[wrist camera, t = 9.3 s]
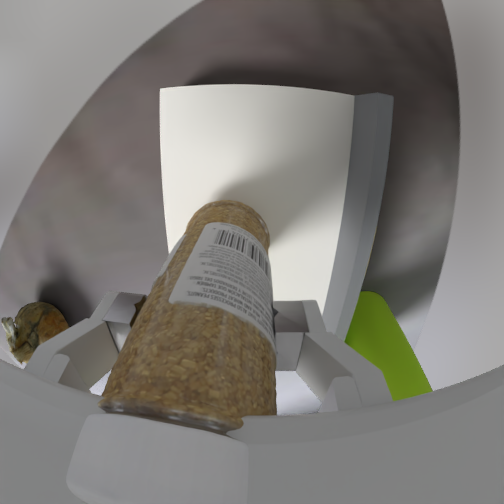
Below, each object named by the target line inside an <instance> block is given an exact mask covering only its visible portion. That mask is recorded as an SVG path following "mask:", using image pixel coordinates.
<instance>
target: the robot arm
mask: <svg viewBox="0 0 504 504" xmlns="http://www.w3.org/2000/svg"><path fill="white" fill-rule="evenodd" d="M147 297H148V296H146V295H143V294H133V293H124V292H114V291H109V292H107V293H106V294H105V296H104V297H103V299H102V300H101V302H100V303H99V305H98V306H97V308H96V309H95V311H94V312H93V314H92V315H91V317H90V319H88V318H86V319H84V320H82V321H80V322H79V323H77V324H75V325H73V326H72V327H70V328H68V329H66V330H65V331H63V332H61V333H60V334H58V335H56V336H54V337H53V338H51V339H49V340H48V341H46V342H44V343H42V344H41V345H39V346H38V347H37V349H36V350H35V352H34V353H33V355H32V356H31V358H30V360H29V361H28V363H27V365H26V366H25V368H24V370H23V369H21V368H18V367H16V366H14V365H12V364H9V363H7V362H5V361H3V360H1V359H0V504H88V503H86V502H84V501H82V500H81V499H79V498H78V497H77V496H75V495H74V494H73V493H72V492H71V491H70V489H69V488H68V486H67V483H66V476H67V472H68V468H69V465H70V462H71V458H72V455H73V452H74V449H75V446H76V443H77V440H78V438H79V435H80V432H81V430H82V427H83V425H84V422H85V420H86V418H87V417H88V416H89V415H91V414H101V413H106V411H104V410H102V409H101V408H99V407H98V402H100V401H101V400H102V399H105V398H104V397H103V396H99V395H96V394H92V393H91V391H90V390H89V389H90V388H91V387H92V386H93V385H94V384H95V383H96V382H97V381H99V380H100V379H101V378H102V377H103V376H104V375H105V374H106V373H108V372H109V371H110V370H111V369H112V368H113V366H114V364H115V362H116V361H117V358H118V355H119V353H120V351H121V350H122V347H123V345H124V342H125V340H126V338H127V336H128V334H129V332H130V331H131V328H132V326H133V324H134V322H135V320H136V318H137V316H138V314H139V312H140V310H141V308H142V307H143V304H144V303H145V302H146V300H147ZM272 310H273V315H274V322H273V323H274V334H275V341H276V350H277V366H276V370H275V371H296V373H297V374H298V375H299V376H300V377H301V378H302V380H303V381H304V382H305V383H306V384H307V386H308V387H309V388H310V389H311V390H312V391H313V393H314V394H315V395H316V396H317V397H318V398H319V400H320V401H321V402H322V404H321V406H320V409H319V411H318V413H310V414H295V415H263V416H254V415H248V416H244V417H242V418H241V419H242V420H243V422H244V424H243V426H242V427H241V428H240V429H237V430H232V431H228V432H227V433H226V434H227V435H228V436H230V437H232V438H234V439H237V440H239V441H242V442H244V443H246V444H247V446H248V494H247V504H504V365H502V366H500V367H498V368H495V369H493V370H491V371H489V372H486V373H484V374H481V375H479V376H476V377H474V378H471V379H468V380H466V381H463V382H460V383H457V384H455V385H451V386H449V387H445V388H443V389H439V390H436V391H432V392H429V393H425V394H421V395H418V396H414V397H410V398H406V399H402V400H397V401H393V399H392V396H391V394H390V391H389V388H388V386H387V383H386V380H385V378H384V375H383V373H382V371H381V370H380V369H378V368H377V367H376V366H375V365H373V364H372V363H371V362H369V361H368V360H367V359H365V358H364V357H363V356H361V355H360V354H359V353H357V352H356V351H355V350H354V349H352V348H351V347H350V346H348V345H347V344H346V343H344V342H343V341H342V340H341V339H339V338H338V337H337V336H335V335H334V334H333V333H332V332H327V331H326V328H325V325H324V322H323V318H322V315H321V312H320V309H319V306H318V303H317V301H316V300H301V301H275V300H272ZM107 413H108V412H107Z"/></svg>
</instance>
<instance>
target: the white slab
mask: <svg viewBox="0 0 504 504" xmlns="http://www.w3.org/2000/svg"><path fill="white" fill-rule="evenodd" d="M393 101H394V96H390V95H386V94H382V93H370V94H363V95H356V96H354V95H348V94H343V93H337V92H330V91H323V90H316V89H308V88H298V87H287V86H273V85H249V84H220V85H196V86H182V87H171V88H162V89H160V145H161V168H162V185H163V199H164V211H165V221H166V231H167V240H168V249H169V254H170V253H171V251H172V249H173V248H174V246H175V245H176V243H177V242H178V240H179V239H180V238H181V237H182V236H183V234H184V233H185V231H186V227H187V224H188V222H189V221H190V219H191V218H192V217H193V215H194V213H195V212H196V211H198V210H199V209H200V208H201V207H202V206H204V205H205V204H207V203H210V202H215V201H220V200H232V201H238V202H241V203H243V204H245V205H248V206H250V207H251V208H253V209H254V210H255V211H256V212H257V213H258V214H259V215H260V216H261V217H262V219H263V220H264V221H265V223H266V225H267V228H268V231H269V235H270V246H269V249H268V256H269V261H270V265H271V274H272V287H273V300H275V301H301V300H316V301H317V303H318V306H319V309H320V312H321V315H322V318H323V322H324V325H325V328H326V331H327V332H332V333H333V334H334V335H335V336H337V337H338V338H339V339H341V340H342V341H343V342H344V341H345V338H346V335H347V332H348V329H349V326H350V323H351V320H352V317H353V314H354V311H355V307H356V304H357V301H358V298H359V294H360V291H361V287H362V284H363V280H364V277H365V275H366V271H367V267H368V263H369V259H370V255H371V251H372V247H373V243H374V239H375V234H376V229H377V222H378V218H379V212H380V207H381V202H382V196H383V190H384V184H385V178H386V171H387V164H388V157H389V148H390V139H391V129H392V117H393Z"/></svg>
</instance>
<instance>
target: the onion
mask: <svg viewBox="0 0 504 504" xmlns="http://www.w3.org/2000/svg"><path fill="white" fill-rule="evenodd" d="M1 323H2V325H3V327H4V329H5V331H6V340H7V343H8V346H9V349H10V352H11V353H12V354H13V355H14V357H15V358H16V359H17V360H18V361H19V362H20V363H21V364H22V362H25V363H28V361H29V360H30V358H31V356H32V355H33V353H34V352H35V350H36V349H37V347H38V346H39V345H41V344H42V343H44V342H46V341H48V340H49V339H51V338H53V337H54V336H56V335H58V334H60V333H61V332H63V331H65V330H66V329H68V328H69V325H68V323H67V322H66V320H65V318H64V317H63V315H62V313H61V312H60V311H59V310H58V309H56V308H55V307H54V306H53V305H51V304H49V303H45V302H34V303H29V304H27V305H25V306H24V307H22V308H21V309H20V310H19V312H18V314H17V316H16V317H15V322H13V319H12V318H11V317H9V318H5V317H3V318H2V319H1ZM14 323H15V324H16V327H15V325H14Z"/></svg>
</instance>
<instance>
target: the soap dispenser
mask: <svg viewBox="0 0 504 504" xmlns="http://www.w3.org/2000/svg"><path fill="white" fill-rule="evenodd" d="M344 343H346V344H347V345H348V346H350V347H351V348H352V349H354V350H355V351H356V352H357V353H359V354H360V355H361V356H363V357H364V358H365V359H367V360H368V361H369V362H371V363H372V364H373V365H375V366H376V367H377V368H378V369H380V370H381V371H382V373H383V375H384V378H385V380H386V383H387V386H388V388H389V391H390V394H391V396H392V399H393V401H397V400H402V399H406V398H410V397H414V396H418V395H421V394H425V393H429V392H432V388H431V386H430V384H429V382H428V380H427V378H426V376H425V374H424V372H423V370H422V368H421V366H420V364H419V362H418V360H417V358H416V356H415V354H414V352H413V350H412V348H411V346H410V344H409V342H408V341H407V339H406V337H405V335H404V333H403V331H402V330H401V328H400V326H399V324H398V322H397V321H396V319H395V317H394V315H393V314H392V312H391V310H390V308H389V307H388V305H387V303H386V302H385V300H384V299H383V297H382V296H380V295H379V294H377V293H375V292H370V291H362V292H360V294H359V298H358V301H357V304H356V307H355V311H354V314H353V317H352V320H351V323H350V326H349V329H348V332H347V335H346V338H345V341H344Z"/></svg>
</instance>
